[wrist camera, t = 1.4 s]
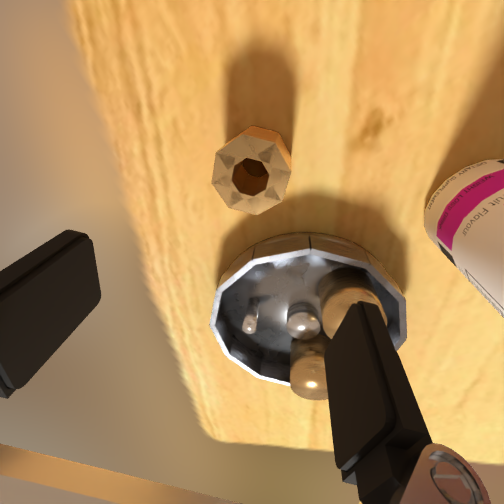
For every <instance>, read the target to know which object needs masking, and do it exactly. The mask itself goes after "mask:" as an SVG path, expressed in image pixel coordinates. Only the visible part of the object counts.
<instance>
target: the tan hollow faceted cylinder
mask: <svg viewBox="0 0 504 504" xmlns="http://www.w3.org/2000/svg"><path fill="white" fill-rule="evenodd" d="M245 158H250V159H254V160H258V161H261V162H262V163H263V165H264V166H265V168H266V170H267V171H268V173H267V174H265V175H264V176H262V177H256V176H252V175H249V174H248V173H247V171H246V169H245V168H244V166H243V165H242V162H243V160H244V159H245ZM290 175H291V155H290V153H289V151H288V150H287V148H286V146H285V144H284V142H283V140H282V138H281V136H280V134H279V133H278V132H275V131H271V130H268V129H264V128H260V127H256V126H251V127H249V128H248V129H246V130H245V131H243V132H242V133H240V134H239V135H237V136H236V137H235V138H233V139H232V140H230V141H229V142H228V143H227V144H225V145H224V146H223V147H222V148H221V149H219V150H218V151H217V152H216V155H215V163H214V170H213V177H212V185H213V186H214V187H215V189H216V190H217V192H218V193H219V195H220V196H221V198H222V199H223V200H224V202H225V203H226V205H227V206H228V208H231V209H234V210H238V211H242V212H246V213H250V214H254V215H258V214H260V213H262V212H264V211H266V210H268V209H270V208H271V207H273V206H275V205H277V204H279V203H281V202H282V201H283V198H284V194H285V191H286V188H287V184H288V181H289V178H290Z"/></svg>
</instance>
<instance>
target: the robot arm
mask: <svg viewBox="0 0 504 504" xmlns="http://www.w3.org/2000/svg"><path fill="white" fill-rule="evenodd" d="M100 299H101V290H100V284H99V278H98V272H97V266H96V260H95V254H94V247H93V242H92V240H91V239H89V237H88V235H87V234H85V233H81V232H77V231H73V230H65V231H63V232H62V233H61V234H59V235H57V236H55V237H54V238H53V239H51V240H49V241H48V242H46V243H44V244H43V245H41V246H40V247H38V248H37V249H35V250H33V251H32V252H30V253H29V254H27V255H25V256H24V257H22V258H21V259H19V260H18V261H16V262H14V263H13V264H11V265H10V266H8V267H6V268H5V269H3V270H2V271H0V397H3V398H7V399H8V398H9V396H11V394H12V393H13V392H14V391H15V390H16V389H20V388H22V387H23V386H24V385H25V384H26V383H27V382H28V381H29V380H30V379H31V378H32V377H33V376H34V374H35V373H36V372H37V371H38V370H39V369H40V368H41V367H42V366H43V365H44V363H45V362H46V361H47V360H48V359H49V358H50V357H51V356H52V355H53V353H54V352H55V351H56V350H57V349H58V348H59V347H60V346H61V344H62V343H63V342H64V341H65V340H66V339H67V338H68V337H69V336H70V335H71V333H72V332H73V331H74V330H75V329H76V328H77V327H78V325H79V324H80V323H81V322H82V321H83V320H84V319H85V318H86V317H87V316H88V314H89V313H90V312H91V311H92V310H93V309H94V308H95V307H96V306H97V304H98V303H99V301H100ZM324 364H325V373H326V382H327V391H328V400H329V409H330V418H331V427H332V436H333V445H334V455H335V462H336V465H337V467H338V468H339V469H341V472H342V480H343V482H346V483H350V484H354V485H357V487H358V494H359V500H360V502H359V504H491V501H490V498H489V495H488V492H487V490H486V488H485V486H484V484H483V482H482V480H481V479H480V477H479V476H478V474H477V473H476V472H475V470H474V469H473V468H472V466H470V464H469V463H468V462H467V461H466V460H465V459H464V458H463V457H462V456H460V455H459V454H458V453H456V452H455V451H453V450H452V449H450V448H448V447H446V446H444V445H442V444H435V443H433V442H432V440H431V437H430V435H429V432H428V430H427V427H426V424H425V422H424V419H423V417H422V414H421V412H420V409H419V406H418V404H417V401H416V399H415V396H414V394H413V391H412V388H411V386H410V383H409V381H408V378H407V376H406V373H405V370H404V368H403V365H402V363H401V360H400V358H399V355H398V353H397V351H396V350H395V348H394V345H393V343H392V340H391V337H390V335H389V332H388V330H387V327H386V324H385V322H384V319H383V317H382V314H381V311H380V309H379V307H378V305H376V304H373V303H369V302H365V301H358V302H357V304H355V303H353V304H352V305H351V306H350V308H349V310H348V311H347V313H346V315H345V317H344V318H343V320H342V322H341V324H340V325H339V327H338V329H337V331H336V332H335V334H334V336H333V338H332V340H331V341H330V343H329V345H328V347H327V348H326V350H325V354H324ZM0 504H241V503H237V502H233V501H229V500H225V499H221V498H217V497H213V496H210V495H206V494H202V493H197V492H194V491H190V490H186V489H182V488H178V487H174V486H170V485H166V484H162V483H158V482H154V481H150V480H145V479H142V478H138V477H133V476H130V475H126V474H121V473H118V472H114V471H109V470H106V469H101V468H97V467H93V466H89V465H85V464H81V463H77V462H73V461H69V460H65V459H61V458H57V457H53V456H49V455H45V454H41V453H36V452H32V451H28V450H24V449H20V448H16V447H12V446H8V445H3V444H0Z"/></svg>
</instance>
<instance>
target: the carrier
mask: <svg viewBox="0 0 504 504" xmlns="http://www.w3.org/2000/svg"><path fill="white" fill-rule="evenodd" d="M358 301H365V302H369V303H373V304H376V305H378V307H379V309H380V311H381V314H382V317H383V319H384V322H385V324H386V327H387V330H388V332H389V335H390V337H391V340H392V343H393V345H394V348H395V350H396V351H397V350H398V349H399V348H400V347H401V345H402V344H403V343H404V342H405V341H406V338H407V324H406V300H405V297H404V296H403V294H402V292H401V290H400V288H399V286H398V285H397V283H396V281H395V280H394V279H393V278H392V277H391V276H390V275H389V274H388V273H387V272H386V270H385V269H384V267H383V266H382V265H381V263H380V262H379V261H378V260H377V259H376V258H375V257H374V256H373V255H372V254H370V253H369V252H368V251H366V250H365V249H363V248H362V247H360V246H359V245H357V244H355V243H352V242H350V241H348V240H346V239H343V238H340V237H337V236H333V235H328V234H323V233H311V232H301V233H290V234H283V235H279V236H275V237H272V238H268V239H266V240H264V241H261V242H259V243H257V244H255V245H253V246H252V247H250V248H248V249H247V250H246V251H244V252H243V253H242V254H240V255H239V256H238V257H237V258H236V259H235V260H234V261H233V262H232V264H231V265H230V267H229V268H228V269H227V271H226V272H225V273H224V274H222V276H221V279H220V281H219V284H218V287H217V289H216V294H215V299H214V304H213V309H212V314H211V319H210V324H209V325H210V327H211V329H212V331H213V333H214V335H215V337H216V339H217V341H218V342H219V344H220V346H221V348H222V350H223V352H224V354H225V356H226V357H228V358H229V359H231V360H232V361H234V362H235V363H237V364H238V365H239V366H241V367H242V368H244V369H245V370H247V371H248V372H250V373H251V374H253V375H254V376H256V377H258V378H260V379H264V380H268V381H272V382H276V383H280V384H284V385H288V386H291V389H292V390H293V392H294V393H295V394H297V395H298V396H300V397H303V398H306V399H310V400H326V399H328V391H327V382H326V373H325V364H324V354H325V350H326V348H327V347H328V345H329V343H330V341H331V340H332V338H333V336H334V334H335V332H336V331H337V329H338V327H339V325H340V324H341V322H342V320H343V318H344V317H345V315H346V313H347V311H348V310H349V308H350V306H351V305H352V304H353V303H355V304H357V302H358Z"/></svg>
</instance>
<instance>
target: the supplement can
mask: <svg viewBox="0 0 504 504" xmlns="http://www.w3.org/2000/svg"><path fill="white" fill-rule="evenodd" d="M424 227H425V230H426V232H427V234H428V237H429V238H430V239H431V240H432V241H433V243H434V244H435V245H436V246H437V247H438V248H439V249H440V250H441V251H442V252H443V253H444V254H445V255H446V257H447V258H448V259H449V260H450V261H451V262H452V263H453V264H454V265H455V266H456V267H457V268H458V269H459V270H460V272H461V273H462V274H463V275H464V276H465V277H466V278H467V279H468V280H469V281H470V282H471V283H472V284H473V285H474V287H475V288H476V289H477V290H478V291H479V292H480V293H481V294H482V295H483V296H484V297H485V298H486V299H487V300H488V302H489V303H490V304H491V305H492V306H493V307H494V308H495V309H496V310H497V311H498V312H499V313H500V314H501V316H502V317H503V318H504V159H493V160H485V161H482V162H479V163H476V164H473V165H470V166H467V167H465V168H463V169H462V170H460V171H459V172H457V173H455V174H454V175H452V176H451V177H449V178H448V179H446V180H445V181H444V182H443V184H442V185H441V186H440V187H439V188H438V189H437V190H436V191H435V192H434V193H433V195H432V196H431V199H430V201H429V203H428V205H427V207H426V209H425V214H424Z"/></svg>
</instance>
